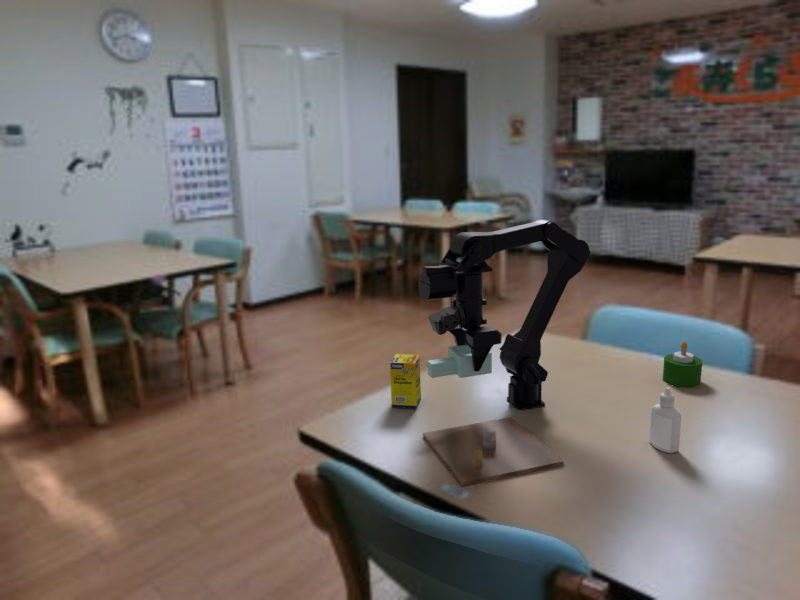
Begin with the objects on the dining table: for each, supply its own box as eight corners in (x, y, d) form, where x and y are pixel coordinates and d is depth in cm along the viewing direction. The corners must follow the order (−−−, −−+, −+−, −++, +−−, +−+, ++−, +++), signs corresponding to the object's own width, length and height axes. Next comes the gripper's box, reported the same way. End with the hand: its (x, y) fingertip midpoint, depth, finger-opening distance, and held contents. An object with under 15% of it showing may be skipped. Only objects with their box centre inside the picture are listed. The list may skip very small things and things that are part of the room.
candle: (702, 378, 149) (706, 339, 146) (697, 390, 142) (701, 349, 139) (665, 372, 153) (668, 334, 150) (659, 384, 146) (662, 344, 144)
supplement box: (417, 409, 138) (415, 363, 135) (391, 408, 139) (389, 362, 136) (421, 398, 143) (420, 354, 141) (396, 397, 145) (394, 353, 142)
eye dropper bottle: (656, 454, 114) (660, 394, 111) (647, 440, 120) (651, 382, 117) (680, 454, 114) (685, 394, 111) (670, 440, 119) (675, 382, 116)
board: (512, 420, 130) (512, 402, 129) (563, 465, 112) (564, 445, 111) (423, 436, 125) (422, 418, 124) (461, 486, 106) (461, 465, 105)
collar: (477, 362, 136) (477, 343, 134) (491, 373, 129) (491, 352, 128) (424, 370, 132) (423, 350, 131) (435, 381, 126) (435, 361, 124)
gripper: (417, 288, 134) (419, 356, 137) (449, 309, 116) (450, 386, 120) (464, 283, 137) (465, 350, 141) (503, 303, 119) (502, 378, 123)
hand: (469, 365), depth 131 cm, fingers closed on collar, 7 cm apart
